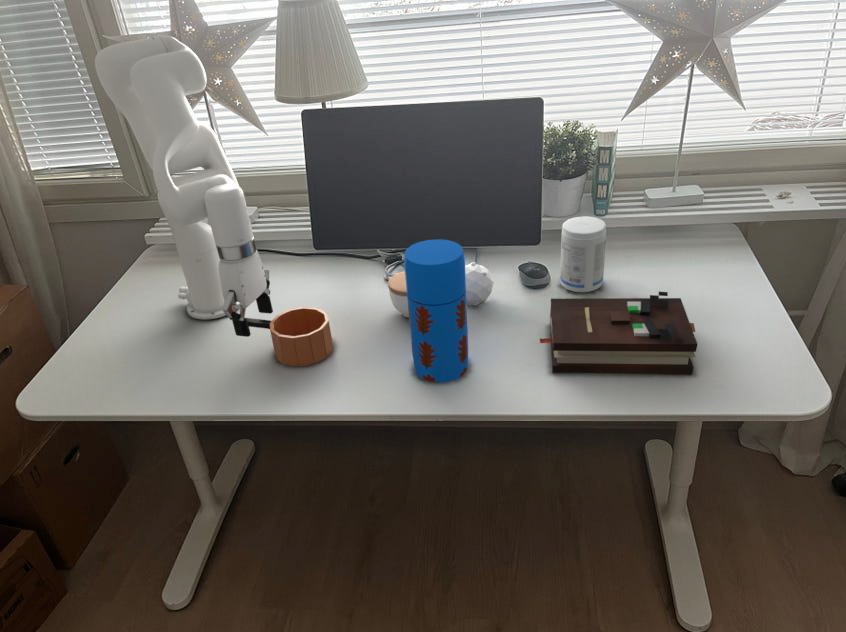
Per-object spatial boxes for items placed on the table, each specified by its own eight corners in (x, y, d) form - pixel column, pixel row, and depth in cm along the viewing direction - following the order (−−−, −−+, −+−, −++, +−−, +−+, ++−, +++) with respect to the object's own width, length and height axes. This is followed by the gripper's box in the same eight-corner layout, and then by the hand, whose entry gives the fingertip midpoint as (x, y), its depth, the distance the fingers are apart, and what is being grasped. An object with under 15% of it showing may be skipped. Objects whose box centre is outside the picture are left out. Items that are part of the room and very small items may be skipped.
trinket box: (434, 324, 154) (432, 285, 149) (386, 322, 156) (382, 285, 151) (442, 300, 163) (439, 262, 157) (396, 298, 165) (392, 262, 160)
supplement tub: (591, 271, 168) (595, 212, 160) (610, 289, 160) (615, 228, 152) (552, 278, 167) (555, 220, 158) (569, 297, 159) (573, 236, 151)
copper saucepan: (233, 358, 149) (225, 330, 146) (260, 328, 159) (254, 301, 155) (318, 369, 143) (313, 340, 139) (341, 338, 152) (337, 310, 149)
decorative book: (539, 292, 146) (692, 291, 141) (538, 323, 151) (687, 323, 146) (540, 342, 131) (713, 343, 126) (539, 376, 135) (707, 378, 130)
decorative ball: (504, 302, 164) (507, 267, 154) (470, 327, 161) (471, 293, 151) (477, 280, 168) (479, 245, 158) (444, 304, 165) (443, 270, 155)
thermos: (452, 389, 134) (445, 269, 120) (403, 375, 139) (392, 259, 125) (478, 359, 141) (474, 244, 128) (431, 347, 147) (423, 235, 133)
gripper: (242, 230, 148) (259, 303, 158) (196, 266, 135) (218, 343, 144) (273, 232, 146) (289, 305, 155) (230, 268, 132) (250, 346, 142)
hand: (255, 323), depth 150 cm, fingers open, 9 cm apart
